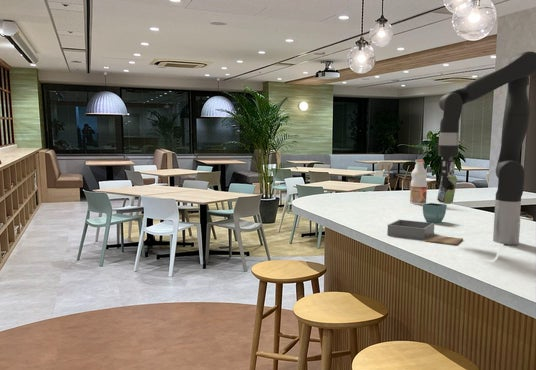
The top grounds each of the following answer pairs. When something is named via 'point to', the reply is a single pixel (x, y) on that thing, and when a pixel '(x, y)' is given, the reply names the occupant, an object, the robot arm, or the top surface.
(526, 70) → the robot arm
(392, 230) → the bin
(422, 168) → the fruit juice
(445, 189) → the beverage can
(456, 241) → the pad
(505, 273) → the top surface
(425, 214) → the flower pot
